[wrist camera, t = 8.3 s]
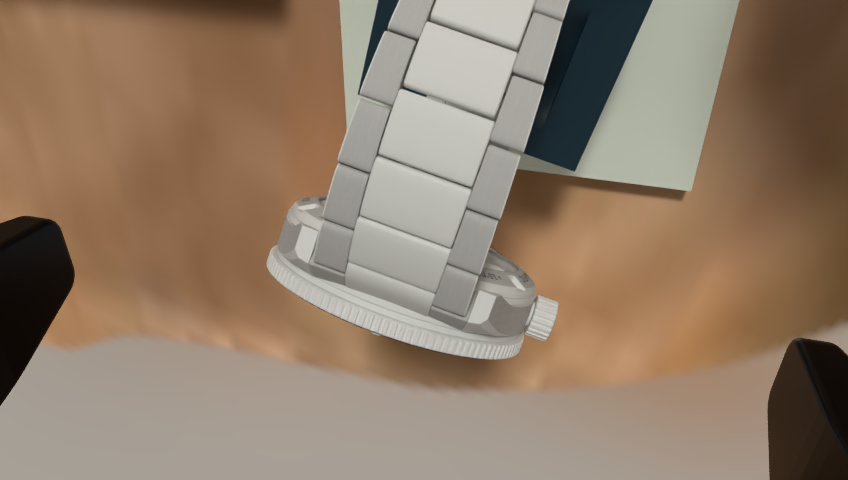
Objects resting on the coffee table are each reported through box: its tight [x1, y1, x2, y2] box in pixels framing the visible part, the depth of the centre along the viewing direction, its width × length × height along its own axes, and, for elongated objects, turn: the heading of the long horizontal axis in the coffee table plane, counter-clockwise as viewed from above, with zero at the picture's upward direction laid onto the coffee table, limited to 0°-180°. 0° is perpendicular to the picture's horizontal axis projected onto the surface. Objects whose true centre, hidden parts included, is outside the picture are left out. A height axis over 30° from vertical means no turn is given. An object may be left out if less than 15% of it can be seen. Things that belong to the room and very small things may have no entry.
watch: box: [267, 0, 653, 359], centre depth 15 cm, size 6×8×11 cm
